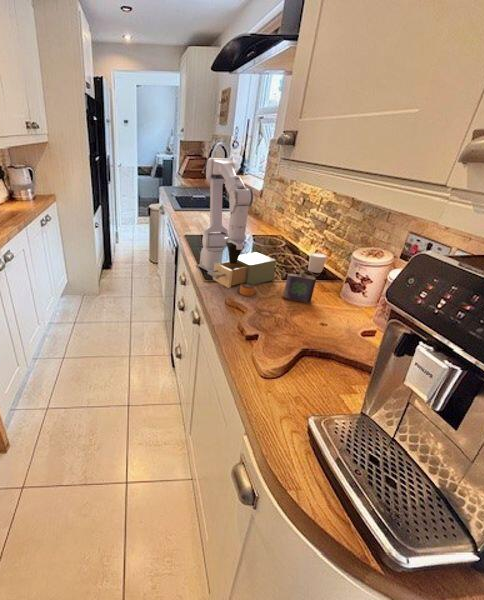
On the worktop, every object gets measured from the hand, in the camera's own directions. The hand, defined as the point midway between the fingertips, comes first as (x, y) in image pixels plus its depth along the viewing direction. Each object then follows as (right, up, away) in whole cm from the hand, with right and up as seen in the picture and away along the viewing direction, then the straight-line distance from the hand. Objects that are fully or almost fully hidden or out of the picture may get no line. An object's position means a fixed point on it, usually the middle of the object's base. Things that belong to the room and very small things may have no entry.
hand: (232, 263), depth 117 cm
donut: (+6, -11, +2) cm, 12 cm away
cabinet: (+11, -5, +15) cm, 19 cm away
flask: (+22, -13, -2) cm, 26 cm away
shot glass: (+41, -1, +24) cm, 48 cm away
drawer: (0, -6, +9) cm, 11 cm away
